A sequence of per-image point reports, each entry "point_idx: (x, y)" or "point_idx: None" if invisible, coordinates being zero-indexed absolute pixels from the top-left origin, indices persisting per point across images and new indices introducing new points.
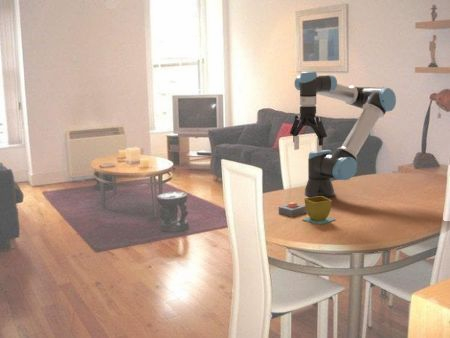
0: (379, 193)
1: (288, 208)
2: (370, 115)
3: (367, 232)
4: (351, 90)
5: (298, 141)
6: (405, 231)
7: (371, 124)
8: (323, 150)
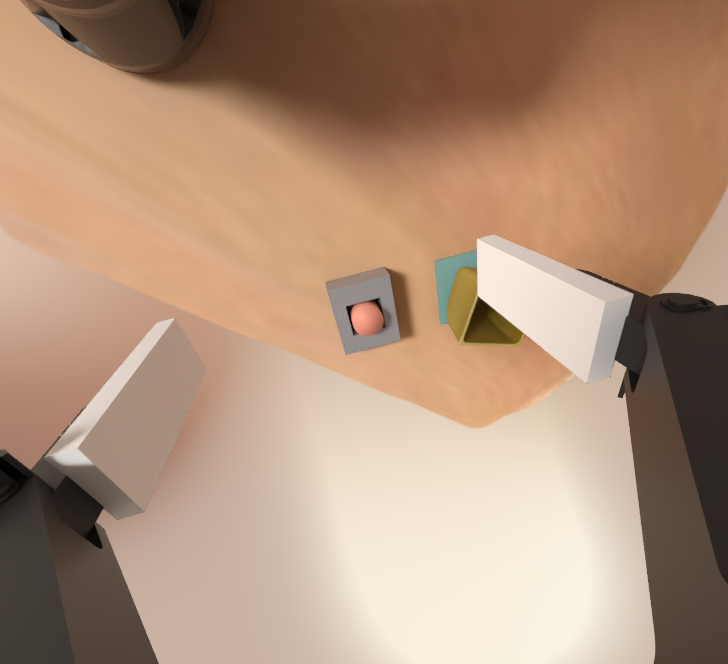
0: None
1: (379, 339)
2: None
3: (626, 241)
4: None
5: (139, 384)
6: (719, 134)
7: None
8: None
